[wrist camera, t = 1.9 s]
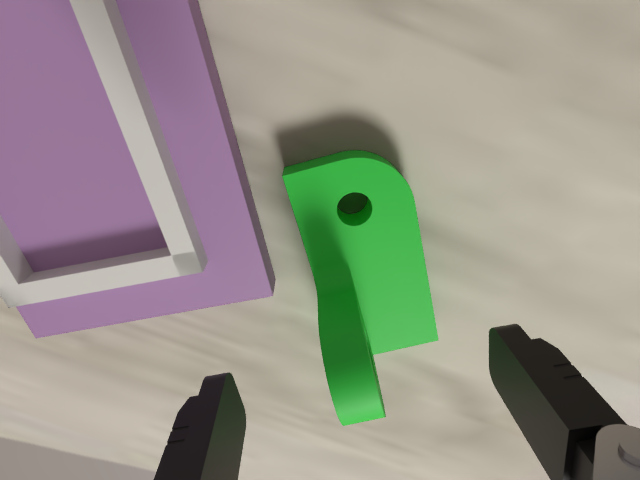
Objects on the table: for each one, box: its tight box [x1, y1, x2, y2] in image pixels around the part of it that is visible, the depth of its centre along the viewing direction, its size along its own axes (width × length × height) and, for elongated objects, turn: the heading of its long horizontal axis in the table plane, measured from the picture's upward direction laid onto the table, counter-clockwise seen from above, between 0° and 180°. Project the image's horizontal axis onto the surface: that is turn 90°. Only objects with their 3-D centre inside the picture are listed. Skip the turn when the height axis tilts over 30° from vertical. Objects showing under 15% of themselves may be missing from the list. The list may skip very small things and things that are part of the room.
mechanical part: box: [282, 150, 438, 426], centre depth 19 cm, size 12×6×8 cm, turn 15°
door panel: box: [0, 0, 276, 338], centre depth 18 cm, size 14×20×3 cm
